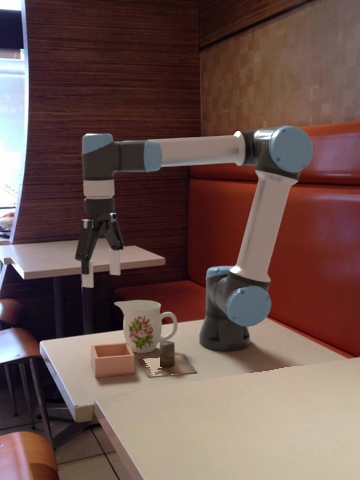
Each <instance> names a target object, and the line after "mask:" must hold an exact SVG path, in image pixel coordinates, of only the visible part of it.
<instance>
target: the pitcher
mask: <svg viewBox="0 0 360 480" xmlns="http://www.w3.org/2000/svg"><path fill="white" fill-rule="evenodd" d="M114 305H115V306H117V307H119V308H120V310H121V311H122V314H123V323H122V325H123V326H122V328H123V329H122V330H123V335H124V339H125V343H127V342H128V344H129V346H130V348H131V350H132V352H133V353H135V352H137V353H136V354H147V353H146V352H149V353H151V352H150V351H152V352H153V351H155V349H156V347H157V346H158V344H160V342H163V341H170V340H171V339H172V338H173V337H174V336H175V335H176V333H177V331H178V318H177V316H176V315H175V314H174V313H172V312H171V311H165V312H163V313H160V311H161V307H162V304H161V303H160V302H157V301H154V300H146V299H143V300H142V299H133V300H126V301H125V300H124V301H116V302H114ZM166 317H167V318H171V320H172V322H173V328H172V331H171V332H169V333H168V334H167V335H164V336H162V332H163V331H162V330H163V329H162V328H163V324H162V323H163V322H162V320H163V319H164V318H166Z"/></svg>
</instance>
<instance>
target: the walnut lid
mask: <svg viewBox="0 0 360 480" xmlns="http://www.w3.org/2000/svg"><path fill="white" fill-rule="evenodd" d="M175 347H176V346H175V342H174V341H170V340H167V341H163V342H160V343H159V357H160V367H162V368H158V369H157V370H161V371H158V372H155V375H158V374H162V375H171V374H182V375H190V374H189V373H193V374H198V371H197V370H196V368H195V366H194V365H193V364H192V363H191V362H190V361H189V358H188V357H186V355H185V354H176V353H175V352H176V351H175V349H176V348H175ZM175 354H176V355H175ZM144 358H145V357H138V359H137V360H138V361H139V360H140V361H139V363H140V362H141V363H140V365H141V364H142V365H141V366H143V367H142V369H143V368H144V369H143V371H144V370H145V371H144V373H145V372H146V373H145V374H147V375H146V376H148V377H150V378H152V377H151V376H152V375H153V374H152V373H151V371H150V370H151V369H149V368H150V367H146V366H148V365H146V364H147V363H145V361H144V360H143V359H144ZM151 374H152V375H151ZM148 377H147V378H148Z"/></svg>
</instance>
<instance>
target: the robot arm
mask: <svg viewBox="0 0 360 480" xmlns="http://www.w3.org/2000/svg"><path fill="white" fill-rule="evenodd" d="M113 137H114V136H113V135H112V134H111V133H86V134H85V135H83V136H82V138H81V158H82V159H81V160H82V161H81V163H82V164H81V165H82V179H83V180H82V181H83V184H82V186H83V195H84V196H85V197H86V198H84V199H83V208H84V210H83V211H84V213H85V214H88V219H84V218H83V219H81V221H80V232H79V236H78V237H79V238H78V241H77V245H76V251H75V255H74V259H75V260H76V261H77V262H80V263H81V265H80V266H81V267H80V268H81V281H82V282H81V283H82V285H81V287H82V288H83V287H84V288H91V289H92V288H94V264H93V263H94V262H93V261H94V260H91V258H92V256H93V253H94V250H95V248H96V245H97V243H98V239H100V238H101V237H102V235H103V237H104V238H105V240H106V241H107V244H108V245H109V247H110V249H109V250H108V251H109V252H108V253H109V254H108V255H109V258H108V259H109V275H113V276H120V275H121V253H120V252H121V251H124V249H125V241H124V236H123V234H122V232H121V231H122V230H121V227H120V224H119V219H118V213H116V212H115V211H116V208H115V207H116V206H115V204H116V203H115V198H114V197H113V196H115V177H114V174H115V173H125V172H126V173H144V172H146V173H149V172H157V171H159V170H161V168H163V167H164V168H165V167H180V166H181V167H182V166H198V165H200V166H201V165H215V164H229V163H230V164H233V163H234V164H236V165H237V166H238V167H242V166H243V167H244V166H250V167H255V174H256V176H257V177H258V181H257V185H256V189H255V193H254V196H253V200H252V204H251V208H250V211H249V216H248V219H247V223H246V227H245V230H244V234H243V238H242V242H241V246H240V250H239V253H238V257H237V261H236V264H235V265H221V266H220V265H219V266H212V267H209V268H208V269H207V271H206V276H205V280H206V281H205V317H204V319H203V320H204V321H203V322H202V326H201V328H200V331H199V334H198V335H199V337H198V339H199V341H198V342H199V344H200V345H201V346H202V347H205V348H207V349H211V350H215V351H225V352H230V351H232V352H233V351H239V350H243V349H246V348H248V347H249V346H250V345H251V334H250V331H249V327H254V326H257V325H258V324H260V323H262V322H263V321H265V319H266V318H267V317H268V316H269V313H270V312H271V309H272V308H271V307H272V300H271V297H270V294H269V288H270V285H271V281H272V280H271V278H270V276H269V274H268V271H269V267H270V263H271V258H272V256H273V253H274V248H275V244H276V242H277V237H278V234H279V230H280V227H281V223H282V219H283V216H284V211H285V208H286V204H287V201H288V197H289V194H290V191H291V188H292V187H293V185H296V183H298V182H299V178H300V175H301V172H302V170H304V169H305V168H307V167H308V166H309V165H310V162H311V161H312V159H313V155H314V147H313V142H312V139H311V138H310V135H308V133H307V132H306V131H305V130H304V129H302V128H300V127H297V126H293V125H287V124H286V125H284V124H283V125H281V126H280V125H279V126H276V125H273V126H265V127H264V126H263V127H260V128H255V129H249V130H243V131H241V130H240V131H236V132H235V133H234V134H233V135H219V136H218V135H217V136H216V135H215V136H200V137H199V136H197V137H195V136H194V137H178V138H177V137H176V138H159V139H157V138H156V139H140V140H129V139H126V140H122V141H114V138H113Z"/></svg>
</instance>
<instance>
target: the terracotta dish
mask: <svg viewBox="0 0 360 480" xmlns="http://www.w3.org/2000/svg"><path fill="white" fill-rule="evenodd" d="M90 363H91V368H92V371H93V374H94V377H95V378H105V377H115V376H116V377H117V376H126V375H135V354H134V352H133V351H132V350H131V348H130V346H129V344H128V342H117V343H115V342H114V343H104V344H90Z"/></svg>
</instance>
